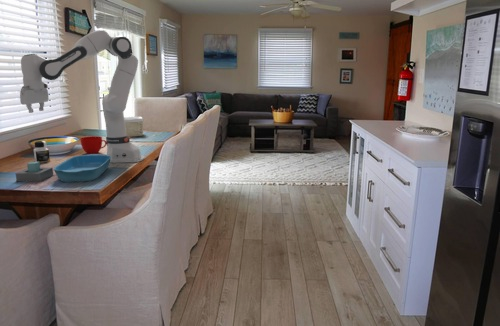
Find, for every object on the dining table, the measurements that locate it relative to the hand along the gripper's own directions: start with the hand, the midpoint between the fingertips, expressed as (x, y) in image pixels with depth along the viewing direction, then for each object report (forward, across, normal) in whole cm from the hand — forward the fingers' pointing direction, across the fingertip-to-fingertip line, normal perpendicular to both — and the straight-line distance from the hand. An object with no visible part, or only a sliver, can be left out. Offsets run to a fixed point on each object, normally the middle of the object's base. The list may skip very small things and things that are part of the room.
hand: (36, 111), depth 217 cm
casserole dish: (+32, -12, -30) cm, 45 cm away
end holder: (+31, -21, -8) cm, 38 cm away
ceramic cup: (+31, +39, -12) cm, 52 cm away
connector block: (+30, -21, -8) cm, 37 cm away
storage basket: (+31, +107, -9) cm, 112 cm away
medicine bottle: (+31, +16, +10) cm, 37 cm away
